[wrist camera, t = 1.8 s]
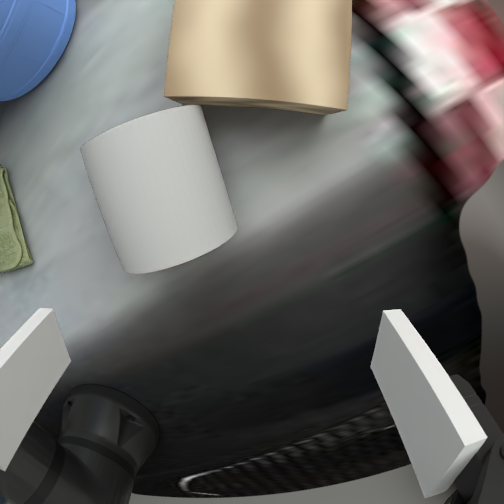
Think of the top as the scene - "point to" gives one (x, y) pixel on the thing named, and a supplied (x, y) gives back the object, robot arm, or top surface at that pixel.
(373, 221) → the top surface
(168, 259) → the toilet paper
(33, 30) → the water jug
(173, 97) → the oak brick
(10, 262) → the washcloth
